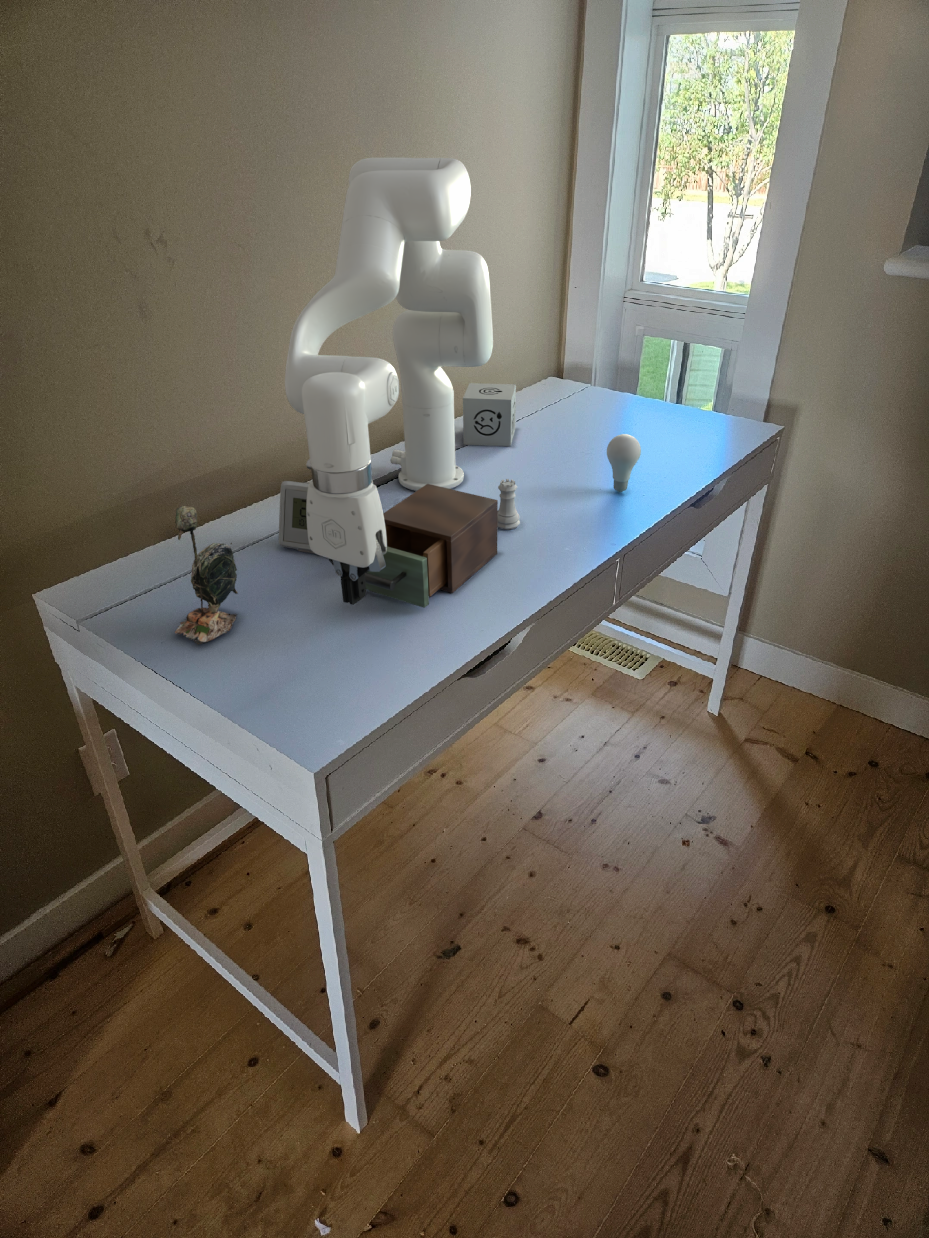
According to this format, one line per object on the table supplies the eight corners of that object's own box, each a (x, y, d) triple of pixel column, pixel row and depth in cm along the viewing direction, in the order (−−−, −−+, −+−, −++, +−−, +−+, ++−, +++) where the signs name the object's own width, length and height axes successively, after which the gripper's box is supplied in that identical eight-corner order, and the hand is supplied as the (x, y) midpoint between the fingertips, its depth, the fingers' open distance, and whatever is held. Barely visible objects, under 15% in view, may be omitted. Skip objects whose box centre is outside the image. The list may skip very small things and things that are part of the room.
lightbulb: (614, 482, 158) (619, 426, 152) (642, 490, 154) (648, 434, 148) (597, 493, 154) (601, 436, 148) (626, 501, 150) (631, 444, 144)
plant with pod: (263, 617, 120) (240, 490, 109) (196, 652, 113) (165, 520, 102) (229, 598, 125) (204, 475, 114) (163, 631, 117) (129, 502, 106)
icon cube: (515, 429, 182) (515, 384, 176) (510, 446, 174) (511, 399, 168) (470, 427, 183) (469, 383, 178) (463, 444, 175) (462, 398, 169)
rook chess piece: (518, 531, 141) (518, 488, 137) (492, 529, 142) (492, 486, 138) (521, 520, 145) (522, 477, 141) (496, 518, 146) (496, 475, 141)
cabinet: (452, 593, 125) (450, 536, 119) (381, 572, 130) (377, 517, 125) (497, 553, 135) (497, 500, 130) (429, 535, 140) (427, 483, 135)
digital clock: (273, 548, 138) (264, 489, 132) (307, 526, 144) (300, 469, 138) (353, 570, 131) (346, 509, 125) (385, 546, 137) (380, 487, 132)
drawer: (408, 622, 117) (405, 574, 112) (341, 600, 122) (335, 554, 118) (470, 569, 129) (469, 524, 125) (406, 551, 134) (404, 507, 130)
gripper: (276, 474, 105) (295, 597, 115) (372, 498, 98) (383, 627, 108) (314, 454, 110) (329, 574, 120) (408, 476, 104) (415, 600, 114)
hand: (355, 598), depth 114 cm, fingers closed
